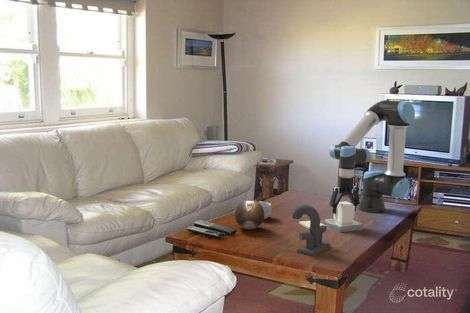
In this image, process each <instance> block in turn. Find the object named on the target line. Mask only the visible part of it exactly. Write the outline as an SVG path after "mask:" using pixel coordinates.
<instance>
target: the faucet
mask: <svg viewBox="0 0 470 313" xmlns="http://www.w3.org/2000/svg"><path fill="white" fill-rule="evenodd" d="M304 215H305V216H308V217H309V221H310V229H309V232H307V231H304V232H302V231H301V232H299V234H298V238H299V240H300V241H305V244H304V245H302V246H301V247H299V248H298V249H296V253H298V254H302V255H307V256H308V257H309V256H311V257H315V256H317V255H319V254H320V253H322V252H323V251H325V250H327V249H328V248H330V247H331V243H329V242H327V241H323V234H324V233H325V232H326V231H327V226H326V225H325V226H324V225H321V226H320V223H321V218H320V217H321V216H320V214H319V212H318V211H317V210H316V209H315V207H314V206H311V205H309V204H301V205H298V206H297V207H296V208H295V209H294V210H293V212H292V215H291V218H292V219H294V220H300V219H301V218H303V217H302V216H304Z"/></svg>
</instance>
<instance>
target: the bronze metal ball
mask: <svg viewBox="0 0 470 313" xmlns="http://www.w3.org/2000/svg"><path fill="white" fill-rule="evenodd" d="M258 202H259V201H257V200H255V199H245V200H242V201H241V202H239V203H238V204H237V205H236V207H235V209H234V219H235V221H236V223H237V225H238V226H239V227H241V228H242V229H244V230H245V229H246V230H255V229H257V228H259V226H261V225H262V223H263V221H264V220H265V219H264V210H263V207H262V206H261V205H260V204H259V203H258Z"/></svg>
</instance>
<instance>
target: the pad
mask: <svg viewBox="0 0 470 313" xmlns="http://www.w3.org/2000/svg"><path fill="white" fill-rule="evenodd" d="M298 224H299V225H301V226H303V227H304V228H306V229H308V230H310V220H302V221H301V220H300V221H298ZM324 224H325V223H322V222H320V226H321V225H324ZM324 226H326V225H324Z"/></svg>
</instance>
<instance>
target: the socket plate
mask: <svg viewBox="0 0 470 313" xmlns="http://www.w3.org/2000/svg"><path fill="white" fill-rule="evenodd" d="M323 224H324V225H325V226H326V227H328V228H330V229H332V230H334V231H336V232H338V233H347V232H355V231H356V232H357V231H363V230H364V229H363V228H364V224H363V223H361V222H359V221H357V220H354V218H352V223H350V224H340V223H338V222H336V221H335V219H333V218H324V223H323Z"/></svg>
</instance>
